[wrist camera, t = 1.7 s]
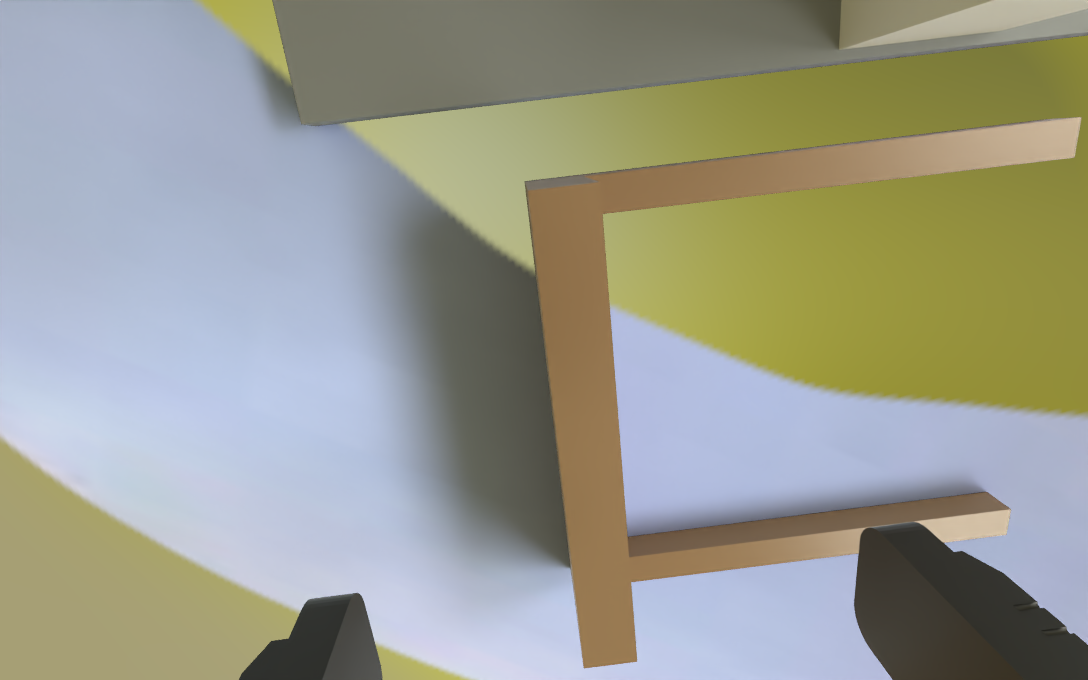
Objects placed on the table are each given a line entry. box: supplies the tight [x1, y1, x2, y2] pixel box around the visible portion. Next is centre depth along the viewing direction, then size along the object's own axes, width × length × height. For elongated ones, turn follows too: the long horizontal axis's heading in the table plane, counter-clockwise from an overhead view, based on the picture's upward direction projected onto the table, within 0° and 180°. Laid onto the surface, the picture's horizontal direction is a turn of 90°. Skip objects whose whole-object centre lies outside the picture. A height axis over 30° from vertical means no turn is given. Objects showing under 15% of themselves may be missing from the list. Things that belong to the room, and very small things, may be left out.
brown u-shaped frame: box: [525, 117, 1081, 668], centre depth 16 cm, size 14×13×4 cm
